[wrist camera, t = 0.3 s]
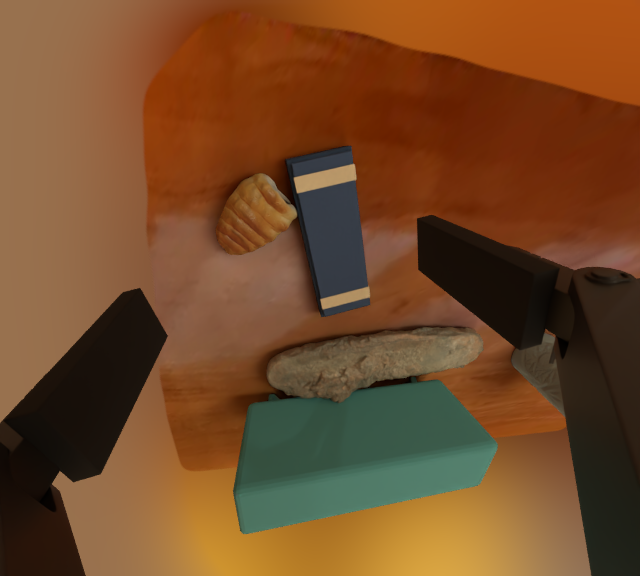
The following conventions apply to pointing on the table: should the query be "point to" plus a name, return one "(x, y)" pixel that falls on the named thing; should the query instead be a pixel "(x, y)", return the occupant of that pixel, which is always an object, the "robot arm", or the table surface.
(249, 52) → the table surface
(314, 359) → the long grey stone
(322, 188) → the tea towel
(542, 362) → the grey stone cup
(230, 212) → the pastry
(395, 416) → the teal bluetooth speaker
